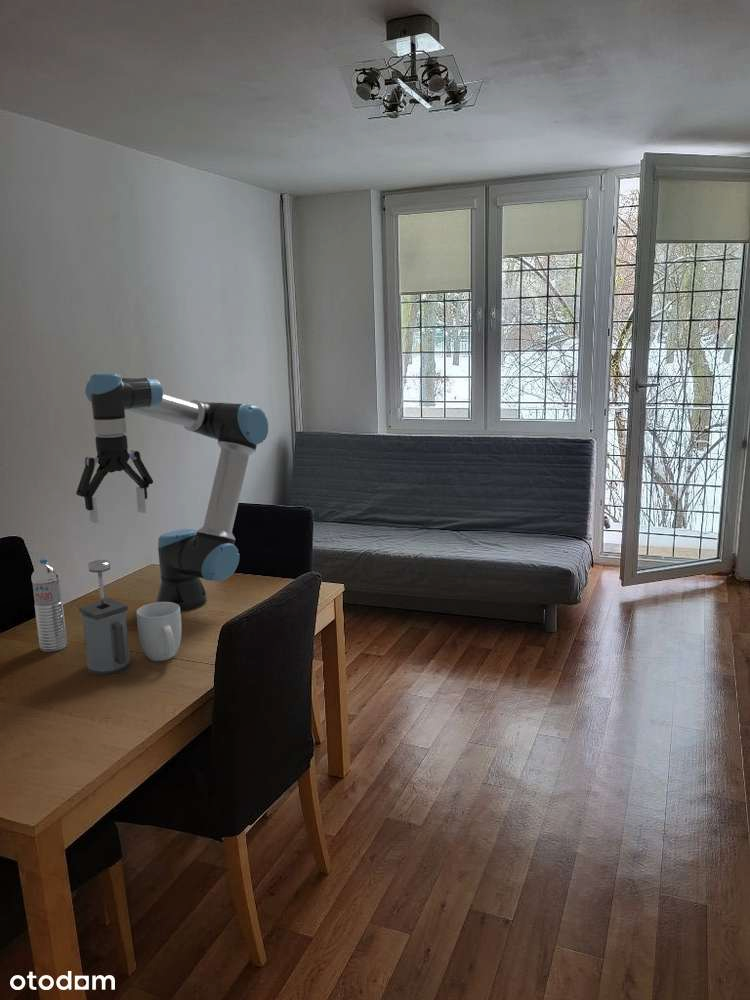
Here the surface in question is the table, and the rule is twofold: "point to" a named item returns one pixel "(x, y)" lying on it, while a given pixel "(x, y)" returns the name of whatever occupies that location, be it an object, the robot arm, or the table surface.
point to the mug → (159, 629)
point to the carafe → (105, 637)
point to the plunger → (100, 575)
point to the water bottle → (49, 608)
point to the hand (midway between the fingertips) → (118, 516)
